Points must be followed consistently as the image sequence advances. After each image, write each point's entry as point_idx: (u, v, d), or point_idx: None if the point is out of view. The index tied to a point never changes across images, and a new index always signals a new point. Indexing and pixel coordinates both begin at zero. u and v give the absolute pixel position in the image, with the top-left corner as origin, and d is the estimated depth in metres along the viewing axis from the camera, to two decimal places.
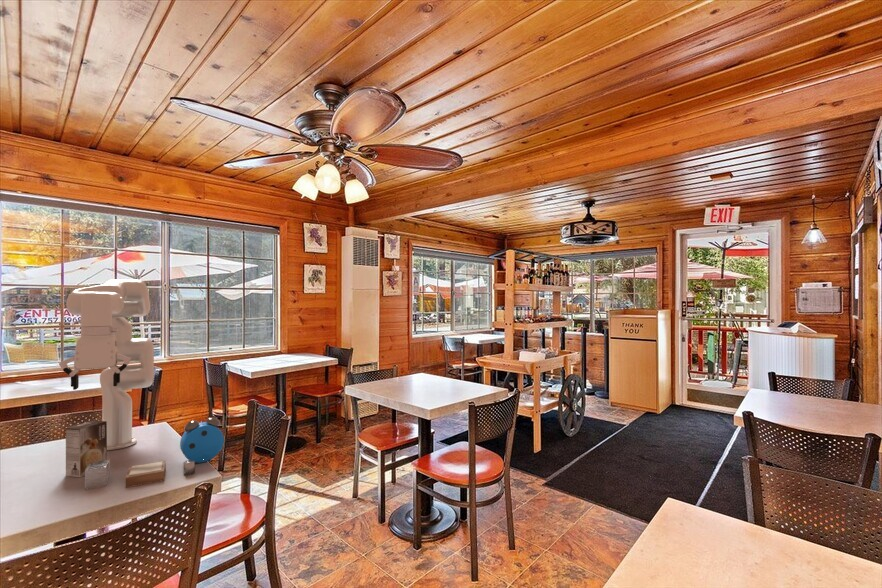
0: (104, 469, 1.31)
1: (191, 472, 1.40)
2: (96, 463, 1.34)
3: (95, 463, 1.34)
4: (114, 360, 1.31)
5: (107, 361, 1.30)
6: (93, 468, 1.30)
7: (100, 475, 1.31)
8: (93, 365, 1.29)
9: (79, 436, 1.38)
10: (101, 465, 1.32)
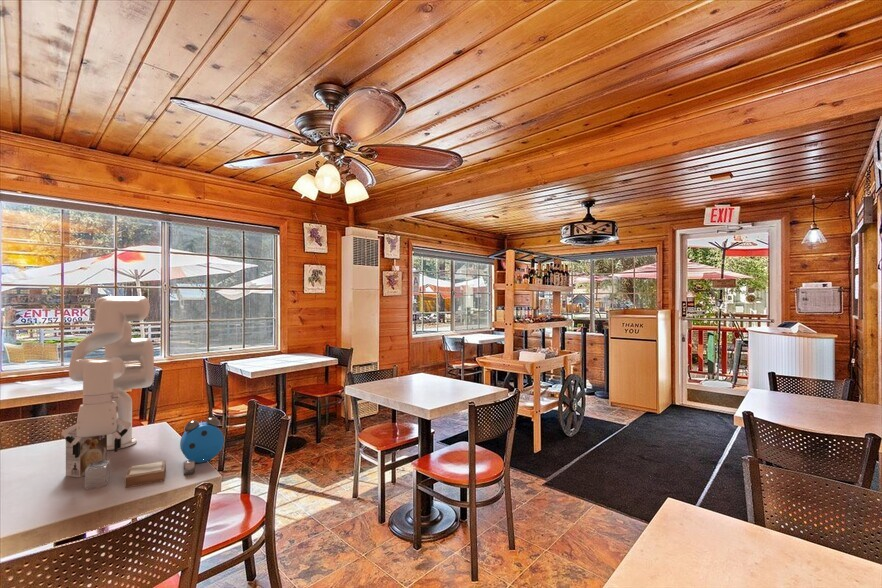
0: (104, 469, 1.31)
1: (191, 472, 1.40)
2: (96, 463, 1.34)
3: (95, 463, 1.34)
4: (115, 426, 1.34)
5: (108, 428, 1.33)
6: (93, 468, 1.30)
7: (100, 475, 1.31)
8: (94, 432, 1.31)
9: None
10: (101, 465, 1.32)
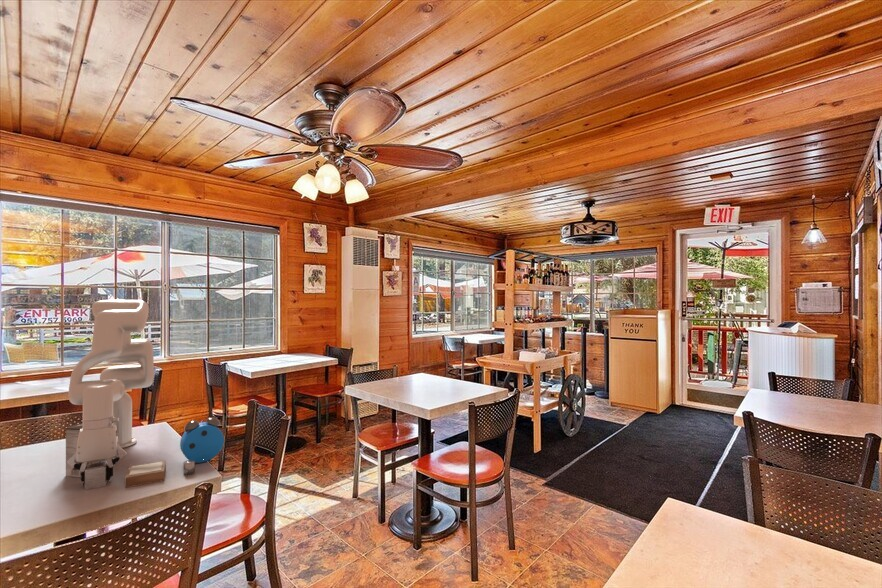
0: (104, 469, 1.31)
1: (191, 472, 1.40)
2: (96, 463, 1.34)
3: (95, 463, 1.34)
4: (115, 450, 1.34)
5: (108, 452, 1.33)
6: (93, 468, 1.30)
7: (100, 475, 1.31)
8: (94, 457, 1.31)
9: None
10: (101, 465, 1.32)
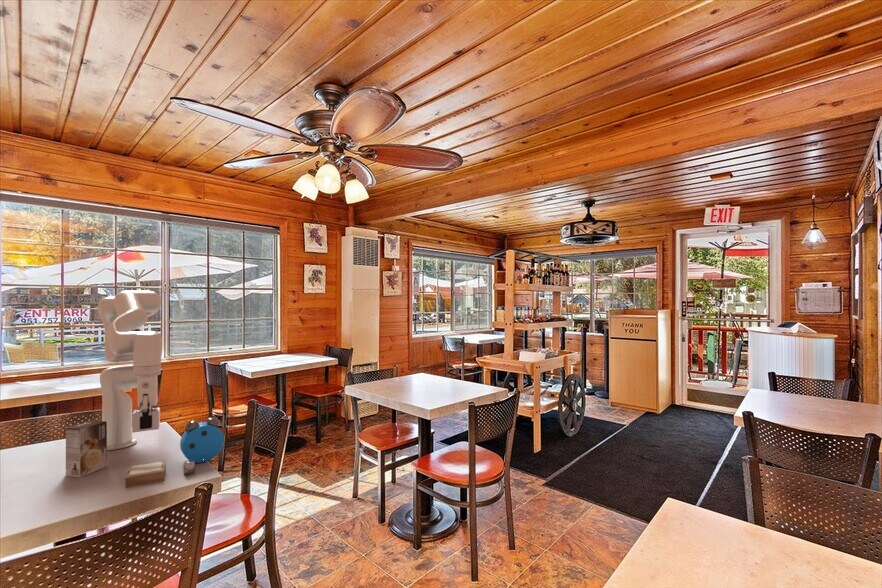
0: None
1: (191, 472, 1.40)
2: None
3: (151, 408, 1.39)
4: (138, 401, 1.33)
5: None
6: (134, 411, 1.36)
7: None
8: None
9: (79, 436, 1.38)
10: (139, 411, 1.36)
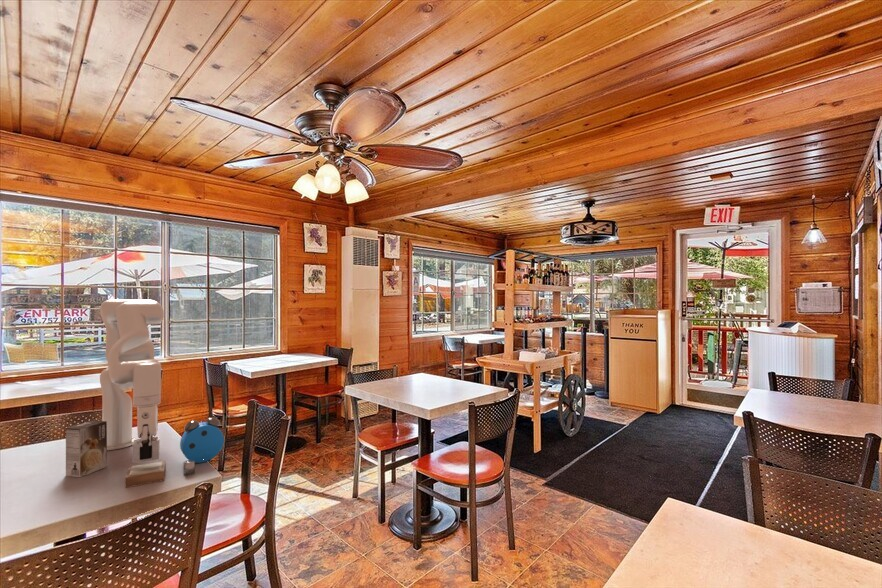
0: (132, 446, 1.34)
1: (191, 472, 1.40)
2: None
3: (151, 438, 1.39)
4: (138, 432, 1.32)
5: None
6: (134, 441, 1.36)
7: None
8: None
9: (79, 436, 1.38)
10: (139, 441, 1.35)
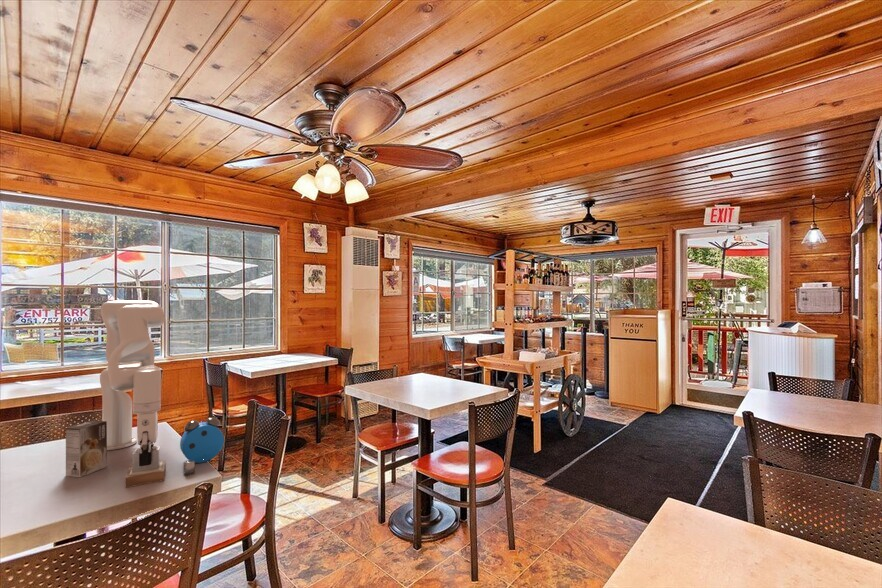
0: (132, 455, 1.34)
1: (191, 472, 1.40)
2: None
3: (151, 447, 1.39)
4: (138, 439, 1.32)
5: (137, 438, 1.34)
6: (134, 450, 1.36)
7: None
8: None
9: (79, 436, 1.38)
10: (139, 451, 1.36)
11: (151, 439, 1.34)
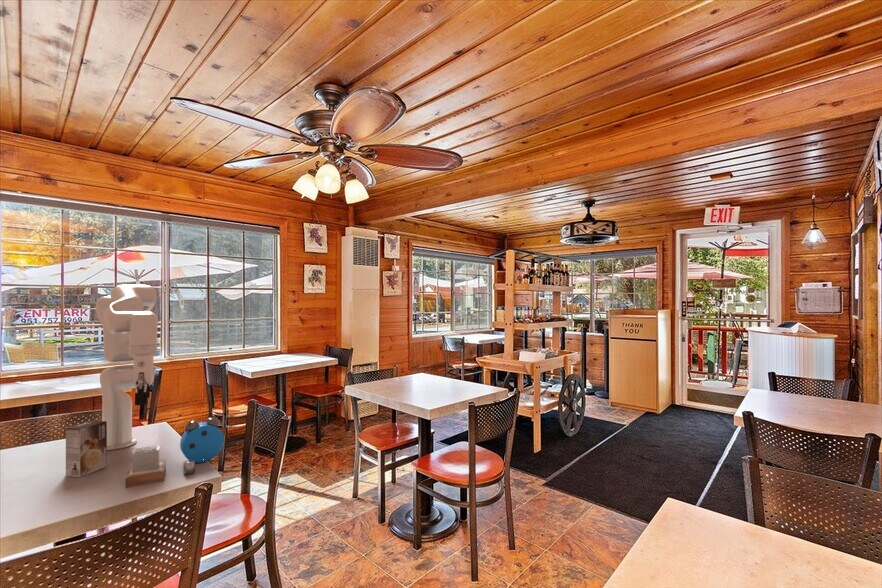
0: (132, 455, 1.34)
1: (191, 472, 1.40)
2: (150, 447, 1.38)
3: (151, 447, 1.39)
4: (134, 380, 1.35)
5: None
6: (134, 450, 1.36)
7: None
8: None
9: (79, 436, 1.38)
10: (139, 451, 1.36)
11: (147, 380, 1.37)
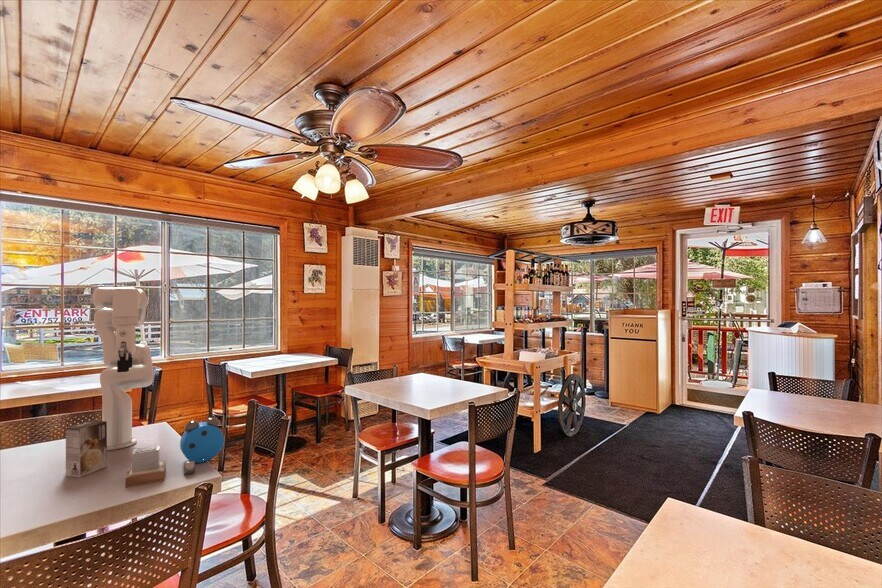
0: (132, 455, 1.34)
1: (191, 472, 1.40)
2: (150, 447, 1.38)
3: (151, 447, 1.39)
4: (116, 348, 1.45)
5: None
6: (134, 450, 1.36)
7: None
8: (118, 350, 1.49)
9: (79, 436, 1.38)
10: (139, 451, 1.36)
11: (128, 349, 1.47)
